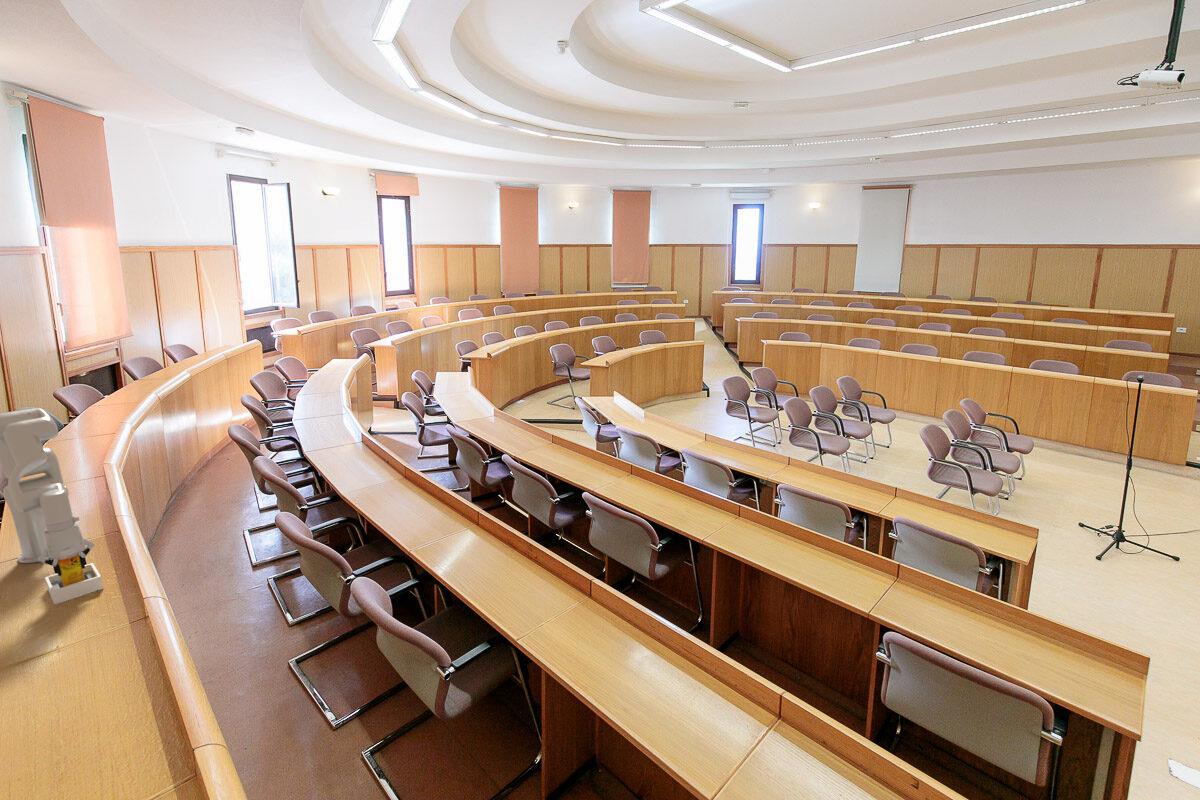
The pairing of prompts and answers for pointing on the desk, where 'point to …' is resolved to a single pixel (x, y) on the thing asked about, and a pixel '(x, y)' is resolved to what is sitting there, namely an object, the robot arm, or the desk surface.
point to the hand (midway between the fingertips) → (71, 570)
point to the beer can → (70, 567)
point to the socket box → (74, 585)
